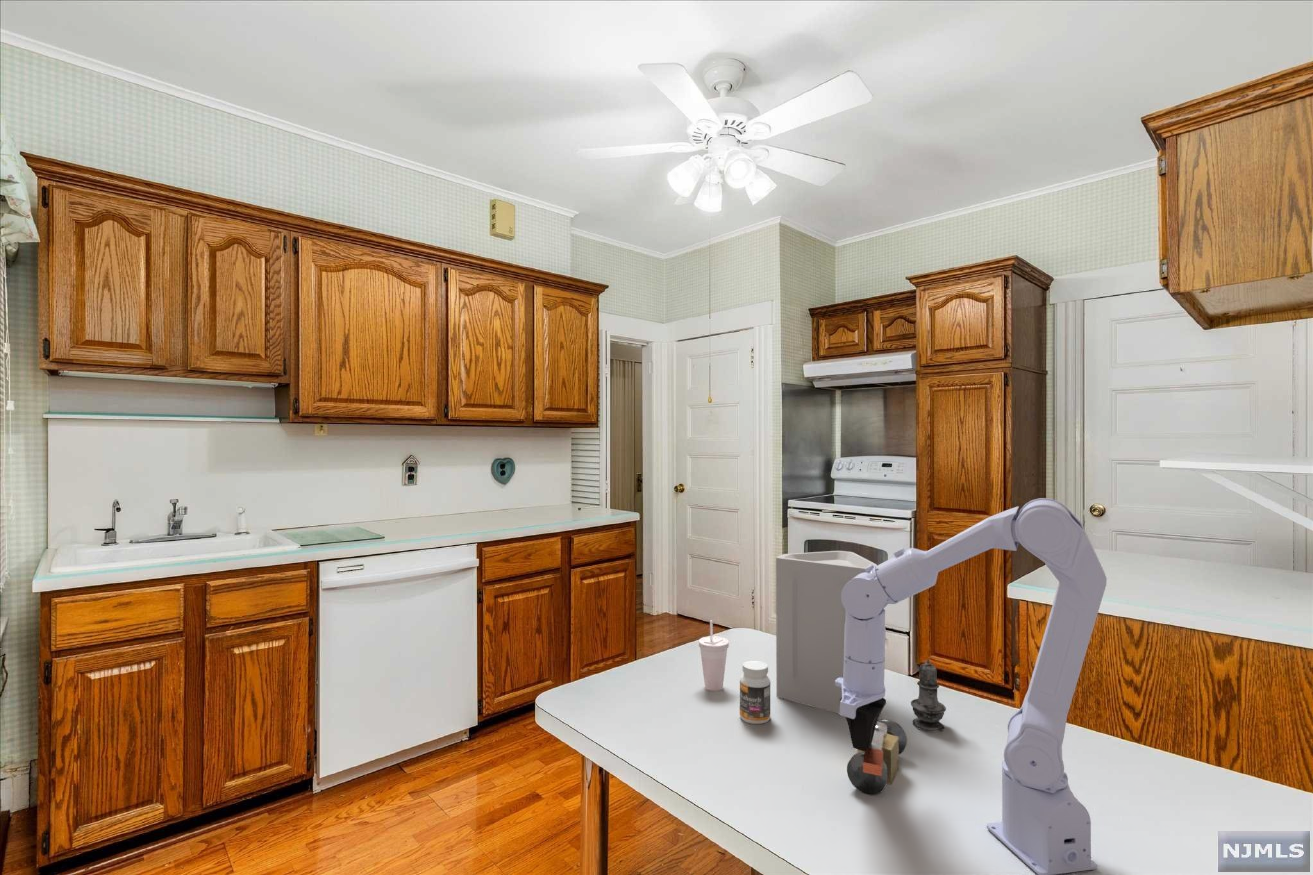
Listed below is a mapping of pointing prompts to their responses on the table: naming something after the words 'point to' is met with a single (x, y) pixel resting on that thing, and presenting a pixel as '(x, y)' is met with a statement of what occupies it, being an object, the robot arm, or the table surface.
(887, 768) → the valve
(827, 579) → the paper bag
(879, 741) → the valve lever
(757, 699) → the pill bottle
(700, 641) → the smoothie
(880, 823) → the table surface
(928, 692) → the salt shaker
